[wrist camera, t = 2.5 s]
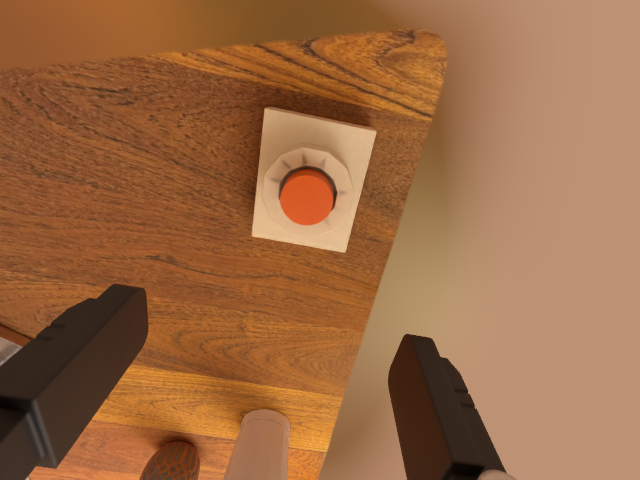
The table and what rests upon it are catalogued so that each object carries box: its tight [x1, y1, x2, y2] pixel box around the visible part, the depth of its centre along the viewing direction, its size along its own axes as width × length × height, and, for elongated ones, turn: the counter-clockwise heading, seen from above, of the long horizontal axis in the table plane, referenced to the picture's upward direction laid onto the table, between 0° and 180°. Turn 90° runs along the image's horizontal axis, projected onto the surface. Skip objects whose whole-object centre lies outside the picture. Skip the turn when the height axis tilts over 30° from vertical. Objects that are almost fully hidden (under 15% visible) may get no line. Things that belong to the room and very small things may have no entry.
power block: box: [252, 107, 376, 253], centre depth 24 cm, size 10×8×4 cm
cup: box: [223, 409, 290, 480], centre depth 35 cm, size 8×8×12 cm
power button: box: [280, 169, 333, 225], centre depth 22 cm, size 4×4×2 cm
